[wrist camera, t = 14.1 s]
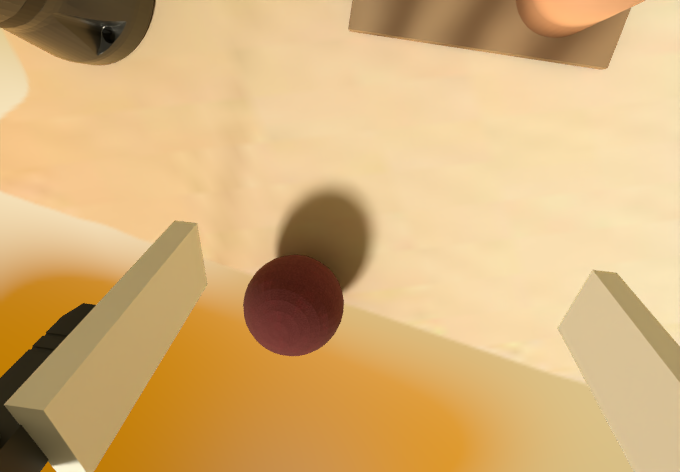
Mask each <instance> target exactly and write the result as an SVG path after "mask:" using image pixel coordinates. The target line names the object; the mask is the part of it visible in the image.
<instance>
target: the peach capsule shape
mask: <svg viewBox="0 0 680 472" xmlns="http://www.w3.org/2000/svg"><path fill="white" fill-rule="evenodd" d="M643 1H645V0H516V5H517V10H518V13H519V15H520V17H521V19H522V21H523V22H524V24H525V25H526V26H527V27H528V28H529V29H530V30H532V31H533V32H535V33H537V34H539V35H541V36H545V37H550V38H560V37H566V36H570V35H573V34H575V33H578V32H580V31H582V30H584V29H586V28H588V27H590V26H592V25H595V24H597V23H599V22H601V21H603V20H605V19H607V18H609V17H611V16H614V15H616V14H618V13H620V12H622V11H624V10H626V9H628V8H631V7H633V6H635V5H637V4H639V3H641V2H643Z"/></svg>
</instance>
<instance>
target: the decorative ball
mask: <svg viewBox="0 0 680 472" xmlns="http://www.w3.org/2000/svg"><path fill="white" fill-rule="evenodd" d="M243 306H244V317H245V321H246V324H247V326H248V328H249V331H250V332H251V334H252V335H253V336H254V338H255V339H256V340H257V341H258V342H259V343H260V344H261V345H262V346H263V347H265V348H266V349H268V350H270V351H272V352H274V353H277V354H280V355H287V356H300V355H305V354H308V353H311V352H313V351H315V350H317V349H319V348H320V347H322V346H323V345H325V344H326V343H327V342H328V341H329V340H330V339H331V337H332V336H333V335H334V333H335V332H336V330H337V328H338V326H339V324H340V322H341V318H342V314H343V306H344V300H343V295H342V290H341V287H340V285H339V282H338V280H337V279H336V277H335V275H334V274H333V273H332V272H331V271H330V270H329V269H328V268H327V267H326V266H325V265H324V264H322V263H321V262H319V261H317V260H315V259H313V258H310V257H307V256H302V255H288V256H283V257H280V258H276V259H274V260H272V261H270V262H268V263H267V264H265V265H264V266H263V267H262V268H261V269H259V270H258V271H257V272H256V274H255V275H254V277H253V278H252V280H251V281H250V283H249V284H248V287H247V290H246V293H245V297H244V304H243Z"/></svg>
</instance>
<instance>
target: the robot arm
mask: <svg viewBox="0 0 680 472" xmlns="http://www.w3.org/2000/svg"><path fill="white" fill-rule="evenodd" d="M153 4H154V0H0V28H3V29H5V30H6V31H8V32H10V33H12V34H14V35H16V36H18V37H20V38H22V39H23V40H25V41H27V42H29V43H31V44H33V45H35V46H37V47H39V48H40V49H42V50H44V51H46V52H48V53H50V54H52V55H54V56H56V57H59V58H61V59H64V60H67V61H71V62H76V63H83V64H90V65H107V64H111V63H115V62H117V61H119V60H121V59H123V58H125V57H126V56H128V55H129V54H130V53H131V52H132V51H133V50H134V49H135V48H136V47H137V46H138V45H139V43H140V42H141V40H142V39H143V37H144V35H145V33H146V31H147V28H148V26H149V23H150V20H151V16H152V11H153ZM206 286H207V279H206V273H205V267H204V261H203V255H202V250H201V244H200V238H199V232H198V226H197V223H191V222H182V221H174V222H173V223H172V224H171V225H170V226H169V227H168V229H167V230H166V231H165V232H164V233H163V234H162V235H161V236H160V237H159V238H158V239H157V240H156V241H155V243H154V244H153V245H152V246H151V247H150V248H149V249H148V250H147V251H146V252H145V253H144V255H142V257H141V258H140V259H139V260H138V261H137V262H136V263H135V264H134V265H133V266H132V267H131V268H130V270H129V271H128V272H127V273H126V274H125V275H124V276H123V277H122V278H121V279H120V280H119V281H118V282H117V283H116V284H115V286H114V287H113V288H112V289H111V290H110V291H109V292H108V293H107V294H106V295H105V296H104V297H103V299H102V300H101V301H100V302H99V303H98V304H97V305H92V304H85V303H83V304H82V305H80V306H78V307H77V308H75V309H74V310H72V311H70V312H69V313H67V314H65V315H63V316H62V317H61V318H60V319H59V320H58V321H57V322H56V323H55V324H54V325H53V326H52V327H51V328H50V329H49V330H48V331H47V332H46V335H45V336H42V337H41V338H40V339H39V340H38V341H37V342H36V343H35V344H34V345H33V347H32V349H31V350H28V351H27V352H26V353H25V354H24V355H23V356H22V357H21V358H20V359H19V360H18V361H17V362H16V363H15V364H14V365H13V366H12V367H11V368H10V369H9V370H8V371H7V372H6V373H5V374H4V375H3V376H2V377H1V378H0V472H40V471H41V470H42V468H43V467H44V466H45V464H46V463H47V462H49V463H50V464H51V465H52V466H53V468H54V469H55V470H56V472H93V471H94V470H95V469H96V467H97V465H98V464H99V462H100V460H101V459H102V457H103V455H104V454H105V452H106V451H107V449H108V447H109V446H110V444H111V442H112V441H113V439H114V437H115V436H116V434H117V432H118V431H119V429H120V427H121V426H122V424H123V423H124V421H125V419H126V418H127V416H128V414H129V412H130V411H131V409H132V408H133V406H134V404H135V403H136V401H137V400H138V398H139V396H140V395H141V393H142V391H143V389H144V388H145V386H146V385H147V383H148V381H149V380H150V378H151V377H152V375H153V373H154V372H155V370H156V368H157V367H158V365H159V363H160V362H161V360H162V358H163V357H164V355H165V354H166V352H167V350H168V349H169V347H170V345H171V344H172V342H173V340H174V339H175V337H176V335H177V334H178V332H179V331H180V329H181V327H182V326H183V324H184V322H185V321H186V319H187V317H188V316H189V314H190V312H191V310H192V309H193V307H194V306H195V304H196V302H197V301H198V299H199V297H200V296H201V294H202V293H203V291H204V289H205V287H206ZM558 330H559V332H560V334H561V336H562V338H563V340H564V342H565V343H566V345H567V347H568V349H569V351H570V353H571V355H572V357H573V358H574V360H575V362H576V364H577V366H578V368H579V370H580V372H581V374H582V375H583V377H584V379H585V381H586V383H587V385H588V387H589V389H590V390H591V392H592V394H593V396H594V398H595V400H596V402H597V404H598V405H599V407H600V409H601V411H602V413H603V415H604V417H605V418H606V420H607V422H608V424H609V426H610V428H611V430H612V432H613V434H614V435H615V437H616V439H617V441H618V443H619V445H620V447H621V448H622V450H623V452H624V454H625V456H626V458H627V460H628V462H629V464H630V466H631V467H632V469H633V471H634V472H680V346H679V345H678V344H677V343H676V342H675V341H674V339H673V338H672V337H671V336H670V335H669V334H668V332H667V331H666V330H665V329H664V328H663V326H662V325H661V324H660V323H659V322H658V321H657V319H656V318H655V317H654V316H653V315H652V314H651V312H650V311H649V310H648V309H647V308H646V307H645V305H644V304H643V303H642V302H641V301H640V300H639V298H638V297H637V296H636V295H635V294H634V293H633V291H632V290H631V289H630V288H629V287H628V286H627V284H626V283H625V282H624V281H623V280H622V279H621V277H620V276H619V275H618V274H617V273H613V272H605V271H596V270H592V272H591V274H590V275H589V277H588V278H587V280H586V282H585V283H584V285H583V287H582V288H581V290H580V292H579V293H578V295H577V297H576V298H575V300H574V302H573V303H572V305H571V307H570V308H569V310H568V312H567V313H566V315H565V316H564V318H563V320H562V321H561V323H560V325H559V326H558Z"/></svg>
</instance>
